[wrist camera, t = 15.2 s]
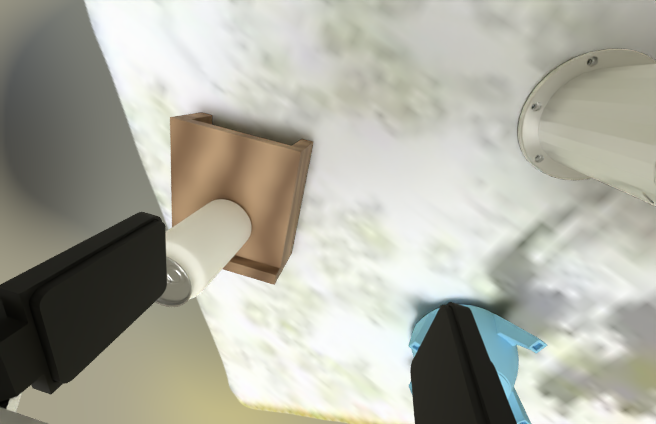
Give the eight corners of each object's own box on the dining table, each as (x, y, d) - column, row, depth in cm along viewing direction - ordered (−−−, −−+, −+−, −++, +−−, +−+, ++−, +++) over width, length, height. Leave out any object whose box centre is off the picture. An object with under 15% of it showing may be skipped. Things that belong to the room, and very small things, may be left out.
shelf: (313, 141, 36) (297, 155, 29) (291, 253, 43) (274, 284, 37) (201, 112, 37) (160, 118, 30) (198, 226, 44) (164, 251, 38)
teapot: (403, 291, 43) (409, 352, 33) (517, 292, 39) (561, 359, 30) (407, 366, 48) (412, 436, 39) (506, 371, 45) (540, 450, 36)
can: (262, 236, 36) (209, 301, 25) (222, 250, 38) (157, 317, 27) (235, 189, 34) (165, 239, 23) (194, 208, 36) (112, 261, 25)
